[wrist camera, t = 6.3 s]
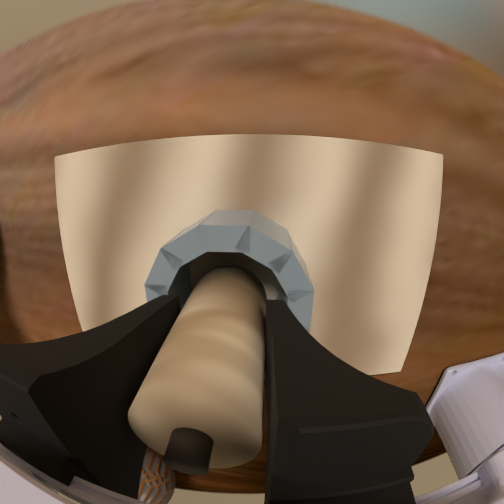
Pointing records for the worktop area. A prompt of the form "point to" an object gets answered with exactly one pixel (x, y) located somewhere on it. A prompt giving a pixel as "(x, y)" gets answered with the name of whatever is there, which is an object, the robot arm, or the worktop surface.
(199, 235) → the grey faceted ring
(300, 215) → the board
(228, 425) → the wick peg
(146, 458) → the vase
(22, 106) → the worktop surface
